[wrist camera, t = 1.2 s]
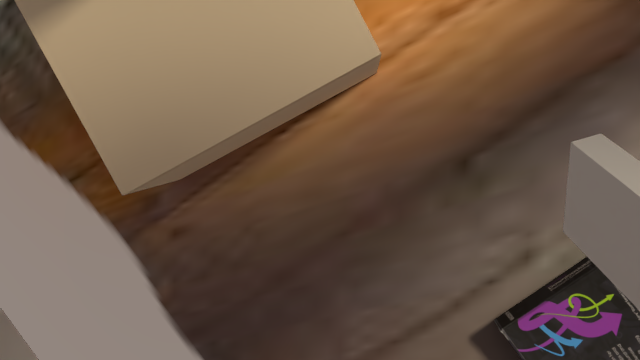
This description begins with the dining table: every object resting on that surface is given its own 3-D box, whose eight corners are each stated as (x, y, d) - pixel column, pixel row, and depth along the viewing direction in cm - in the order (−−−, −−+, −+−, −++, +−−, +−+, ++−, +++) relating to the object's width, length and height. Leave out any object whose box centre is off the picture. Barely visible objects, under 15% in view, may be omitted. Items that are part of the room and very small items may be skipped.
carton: (376, 72, 44) (380, 56, 34) (180, 179, 46) (130, 193, 36) (254, -160, 43) (222, -246, 33) (60, -41, 45) (-26, -89, 35)
